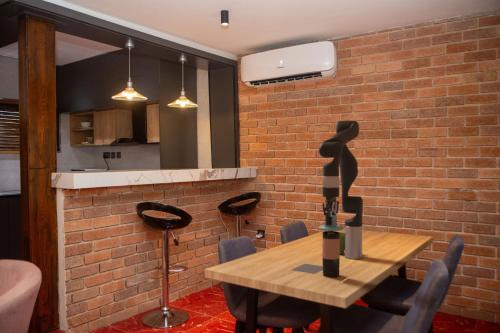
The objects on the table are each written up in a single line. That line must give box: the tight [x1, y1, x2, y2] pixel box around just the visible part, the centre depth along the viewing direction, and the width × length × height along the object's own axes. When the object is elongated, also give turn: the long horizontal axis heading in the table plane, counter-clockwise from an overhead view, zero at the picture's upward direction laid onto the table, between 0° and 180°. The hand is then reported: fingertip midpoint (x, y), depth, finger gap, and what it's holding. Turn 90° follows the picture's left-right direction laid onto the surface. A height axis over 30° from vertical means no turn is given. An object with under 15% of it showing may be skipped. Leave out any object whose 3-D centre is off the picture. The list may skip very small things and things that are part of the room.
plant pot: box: [338, 231, 345, 255], centre depth 232 cm, size 12×12×11 cm
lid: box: [318, 214, 345, 232], centre depth 184 cm, size 11×11×6 cm
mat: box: [291, 263, 323, 275], centre depth 196 cm, size 15×12×1 cm
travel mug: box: [321, 230, 341, 279], centre depth 184 cm, size 8×8×20 cm
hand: (330, 224), depth 184 cm, fingers closed on lid, 4 cm apart
